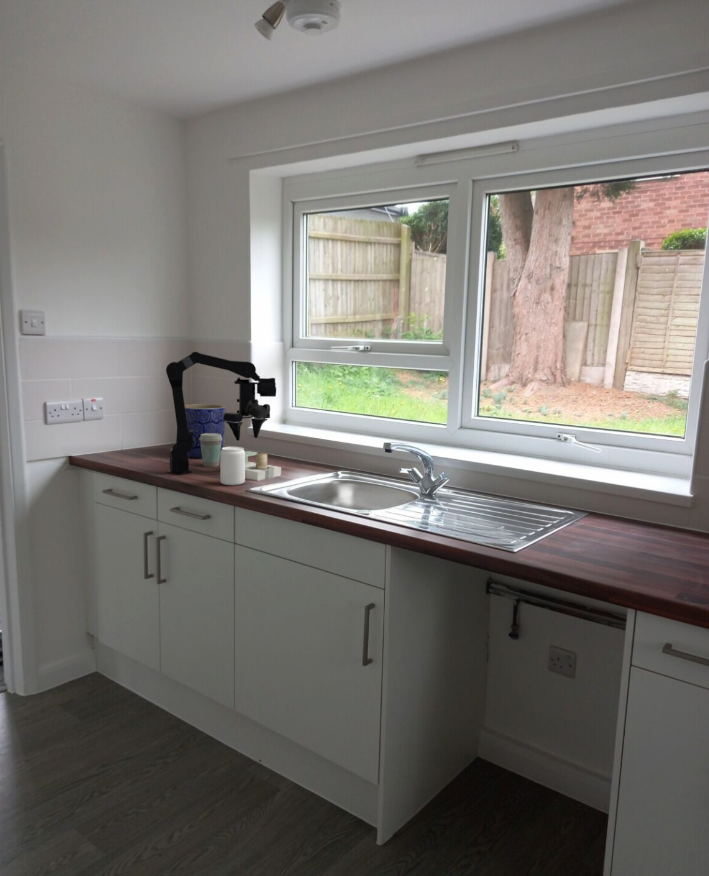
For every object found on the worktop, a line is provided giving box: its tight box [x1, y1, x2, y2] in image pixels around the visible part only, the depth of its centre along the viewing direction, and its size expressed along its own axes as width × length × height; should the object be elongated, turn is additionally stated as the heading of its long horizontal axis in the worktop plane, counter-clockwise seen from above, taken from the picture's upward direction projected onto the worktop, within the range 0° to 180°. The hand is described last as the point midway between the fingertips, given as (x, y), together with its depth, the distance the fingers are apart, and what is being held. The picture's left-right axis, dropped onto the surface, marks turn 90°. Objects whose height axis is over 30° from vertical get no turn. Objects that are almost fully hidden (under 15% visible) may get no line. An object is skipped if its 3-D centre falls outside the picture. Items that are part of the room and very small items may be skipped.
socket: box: [245, 461, 282, 482], centre depth 244 cm, size 17×12×3 cm
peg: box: [255, 452, 268, 470], centre depth 242 cm, size 4×4×8 cm
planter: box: [185, 403, 226, 459], centre depth 279 cm, size 18×18×21 cm
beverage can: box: [219, 446, 246, 486], centre depth 229 cm, size 8×8×12 cm
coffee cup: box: [199, 433, 222, 468], centre depth 259 cm, size 8×9×12 cm
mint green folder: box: [244, 450, 259, 462], centre depth 249 cm, size 6×10×7 cm, turn 144°
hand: (247, 439), depth 249 cm, fingers open, 9 cm apart
